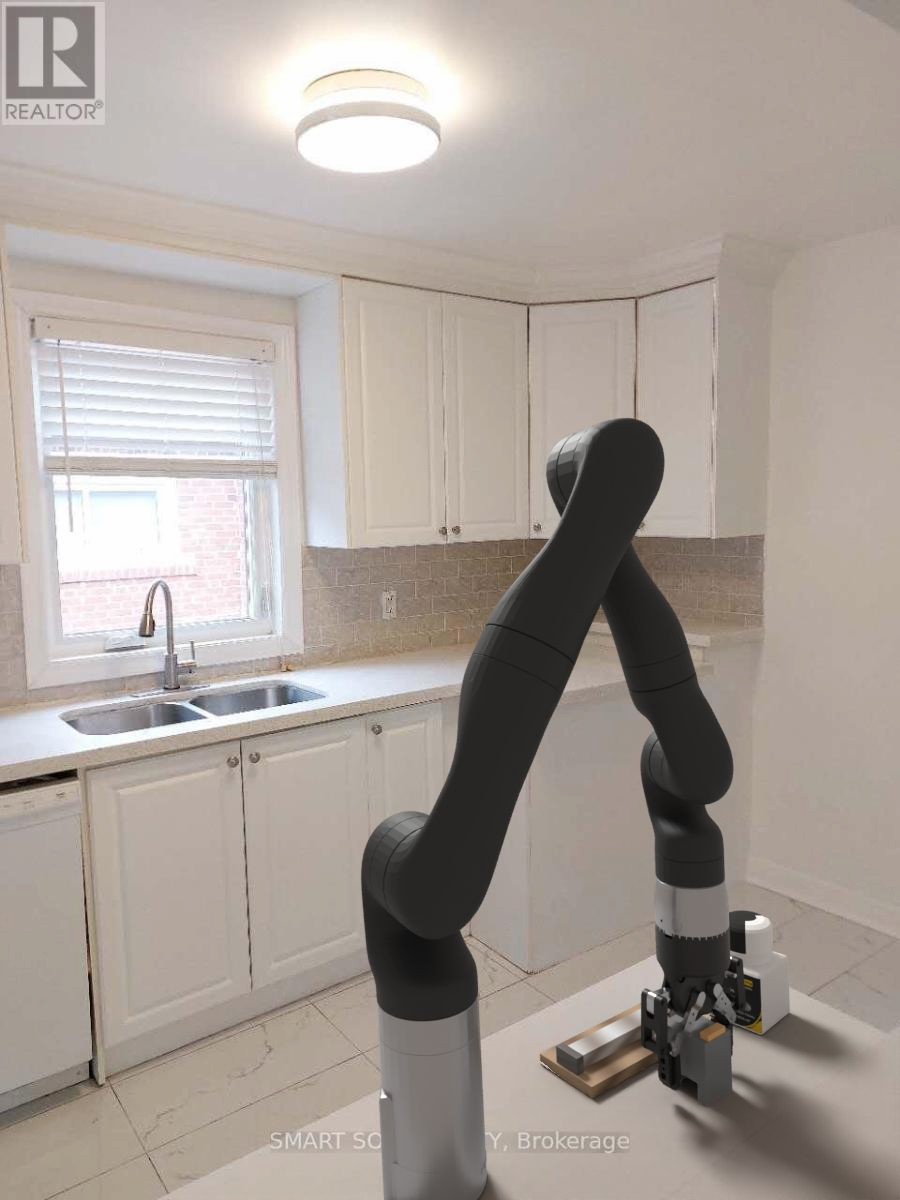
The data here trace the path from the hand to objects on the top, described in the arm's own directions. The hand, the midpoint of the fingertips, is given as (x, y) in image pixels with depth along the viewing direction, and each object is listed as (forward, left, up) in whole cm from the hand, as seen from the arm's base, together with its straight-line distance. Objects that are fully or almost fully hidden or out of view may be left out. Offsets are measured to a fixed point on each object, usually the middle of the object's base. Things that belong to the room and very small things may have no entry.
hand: (697, 1069), depth 89 cm
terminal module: (0, 0, -2) cm, 2 cm away
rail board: (-6, +8, -2) cm, 10 cm away
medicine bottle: (+10, +13, -2) cm, 17 cm away
